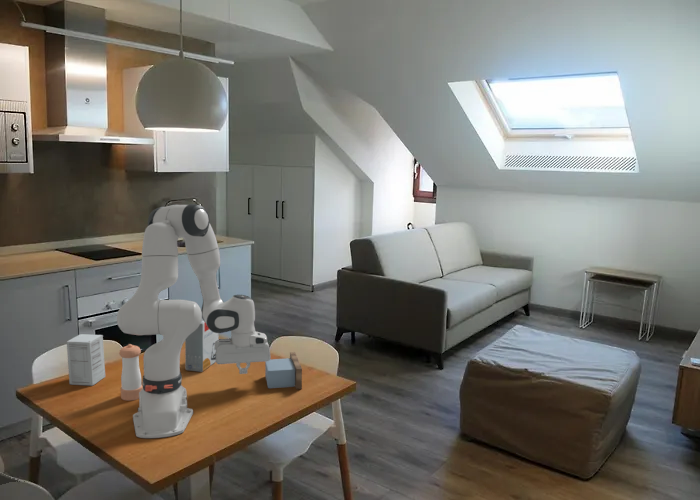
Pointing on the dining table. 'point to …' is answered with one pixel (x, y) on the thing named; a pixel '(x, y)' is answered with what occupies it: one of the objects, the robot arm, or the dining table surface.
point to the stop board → (297, 370)
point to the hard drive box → (200, 348)
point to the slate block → (280, 373)
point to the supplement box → (85, 359)
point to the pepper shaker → (130, 372)
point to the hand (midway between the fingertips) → (243, 373)
